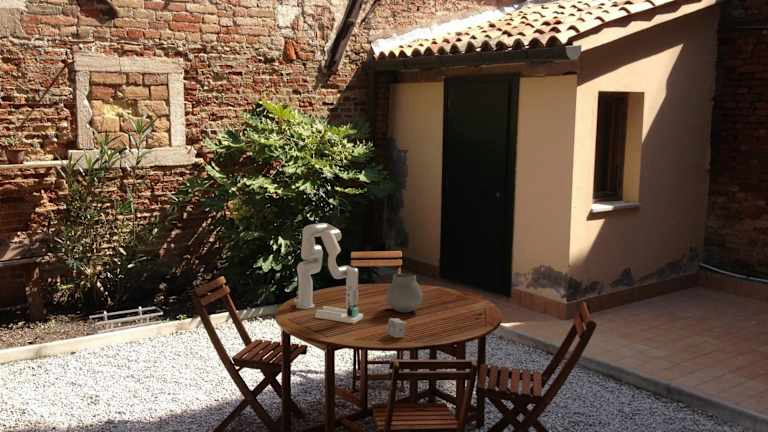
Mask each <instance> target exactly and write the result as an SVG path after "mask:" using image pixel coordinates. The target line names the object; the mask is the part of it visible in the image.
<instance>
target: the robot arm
mask: <svg viewBox="0 0 768 432" xmlns="http://www.w3.org/2000/svg"><path fill="white" fill-rule="evenodd" d="M315 237H316V238H317V237H321V241H322V243H323V245H324V247H325V250H326V251H327V253H328V259H327V266H328V271H329V272H330V275H331V276H332V277H333V278H334V279H336V280H340V279H344V278H346V280H345V282H346V283H345V290H346V292H345V307H346V309H347V316H352V310H351V309H352V307H357V304H358V303H359V289H358V288H359V269H358V268H357V267H352V266H350V265H341V266H338V265H337V262H336V258H337V256H338V254H339V253H340V252H341V251H342V250H341V247H340V244H339V243H338V241H341V239H342V233H341V231H340V230H339V229H338V228H337V227H335V226H333V225H331V224H329V223H326V222H320V223H314V224H309V225H306V226H304V227H303V230H302V242H301V249H300V250H301V251H300V256H301V259H302V260H303V261H300V262H299V263H298V264H297V266H296V271H297V276H298V299H297V298H294V299H293V303H296V305H295V306H296V308H297V309H301V310H302V309H303V310H309V309H313V308H315V307H316V306H315V303H313V297H314V296H313V293H314V291H313V288H314V286H313V278H312V276H311V275H313V274H316V273H320V271H321V268H322V264H323V257H324V256H323V255H324V251H323V249H322V246H321V245H320V244H316V239H315Z"/></svg>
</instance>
